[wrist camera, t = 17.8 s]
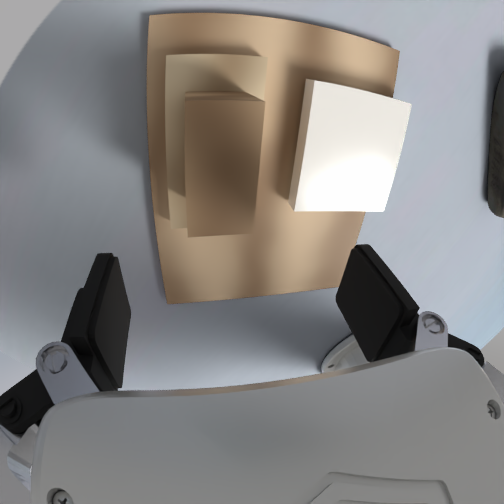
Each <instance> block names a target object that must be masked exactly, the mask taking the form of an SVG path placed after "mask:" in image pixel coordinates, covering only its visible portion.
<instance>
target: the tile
mask: <svg viewBox="0 0 504 504" xmlns="http://www.w3.org/2000/svg"><path fill="white" fill-rule="evenodd" d="M411 106H412V104H409V103H407V102H404V101H401V100H397V99H394V98H391V97H387V96H384V95H380V94H377V93H373V92H369V91H365V90H361V89H357V88H352V87H348V86H343V85H339V84H334V83H328V82H323V81H317V80H311V79H306V82H305V90H304V97H303V105H302V112H301V119H300V127H299V134H298V141H297V147H296V154H295V161H294V167H293V174H292V180H291V187H290V193H289V199H288V203H289V205H290V206H291V208H292V209H293V211H294V212H297V211H384V208H385V205H386V202H387V199H388V196H389V193H390V189H391V186H392V182H393V179H394V176H395V172H396V168H397V165H398V161H399V157H400V154H401V150H402V146H403V142H404V138H405V133H406V129H407V125H408V120H409V115H410V111H411Z"/></svg>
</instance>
